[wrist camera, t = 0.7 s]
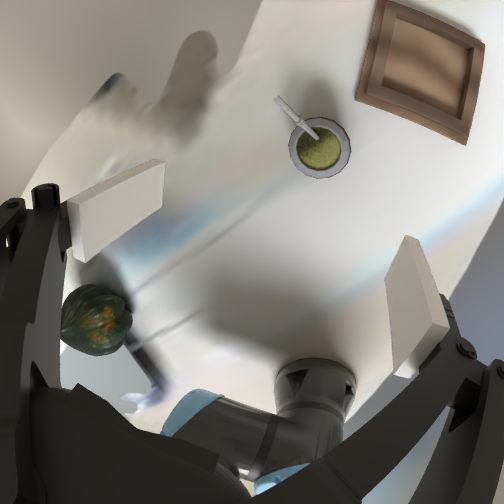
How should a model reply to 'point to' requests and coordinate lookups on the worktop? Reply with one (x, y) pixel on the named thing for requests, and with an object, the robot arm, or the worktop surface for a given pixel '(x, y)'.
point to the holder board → (422, 70)
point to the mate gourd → (317, 145)
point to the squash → (94, 320)
